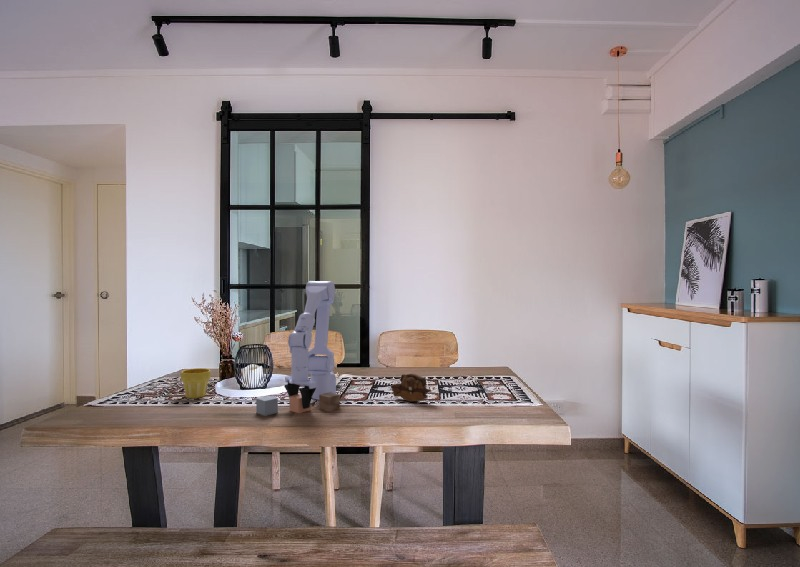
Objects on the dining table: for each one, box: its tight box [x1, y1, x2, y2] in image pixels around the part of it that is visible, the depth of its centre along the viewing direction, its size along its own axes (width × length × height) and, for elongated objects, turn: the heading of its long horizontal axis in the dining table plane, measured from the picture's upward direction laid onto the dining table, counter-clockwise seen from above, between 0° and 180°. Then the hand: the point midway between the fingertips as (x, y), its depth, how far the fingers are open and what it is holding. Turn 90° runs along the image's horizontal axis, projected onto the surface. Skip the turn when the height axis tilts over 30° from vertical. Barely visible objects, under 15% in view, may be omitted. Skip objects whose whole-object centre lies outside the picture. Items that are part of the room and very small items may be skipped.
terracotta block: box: [289, 393, 311, 414], centre depth 156 cm, size 5×5×5 cm
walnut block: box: [318, 392, 341, 413], centre depth 158 cm, size 5×5×5 cm
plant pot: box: [180, 367, 211, 399], centre depth 174 cm, size 10×10×10 cm
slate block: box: [255, 395, 279, 417], centre depth 153 cm, size 5×5×5 cm
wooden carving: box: [390, 373, 432, 402], centre depth 168 cm, size 16×5×10 cm, turn 62°
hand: (300, 406), depth 156 cm, fingers open, 6 cm apart
